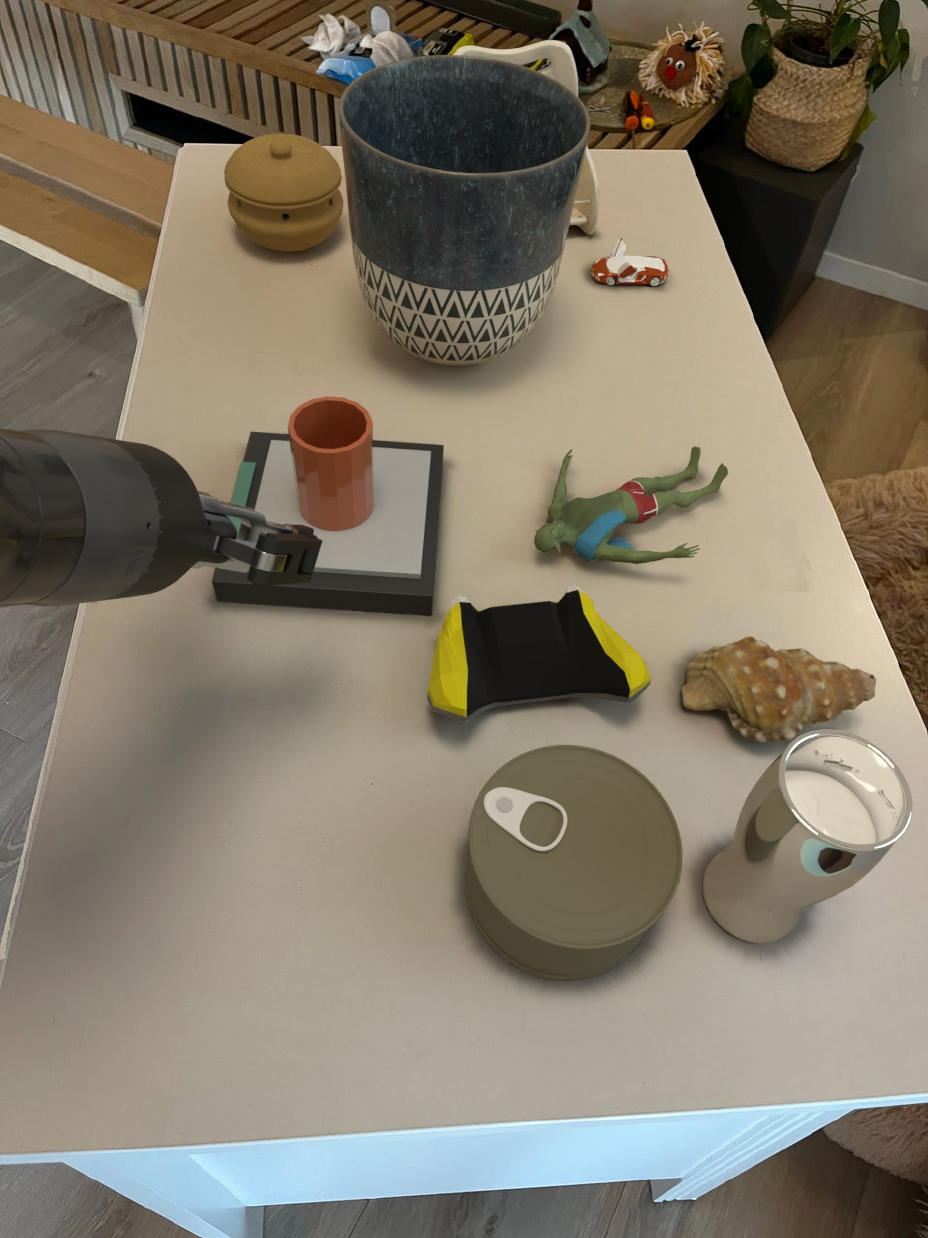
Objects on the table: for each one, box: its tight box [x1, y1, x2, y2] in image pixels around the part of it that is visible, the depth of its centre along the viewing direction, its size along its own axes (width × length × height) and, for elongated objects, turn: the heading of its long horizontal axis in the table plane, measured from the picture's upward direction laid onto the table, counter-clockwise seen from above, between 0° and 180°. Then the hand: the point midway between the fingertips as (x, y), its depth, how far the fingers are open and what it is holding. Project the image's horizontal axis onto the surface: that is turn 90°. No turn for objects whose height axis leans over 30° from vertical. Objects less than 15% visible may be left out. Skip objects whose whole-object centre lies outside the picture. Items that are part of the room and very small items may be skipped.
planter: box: [338, 54, 591, 367], centre depth 79 cm, size 20×20×21 cm
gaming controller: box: [426, 584, 652, 723], centre depth 63 cm, size 15×6×10 cm
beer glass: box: [701, 728, 914, 945], centre depth 51 cm, size 7×7×15 cm
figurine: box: [533, 445, 729, 565], centre depth 74 cm, size 16×4×18 cm
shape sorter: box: [452, 39, 600, 235], centre depth 94 cm, size 20×10×18 cm, turn 104°
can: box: [464, 744, 683, 981], centre depth 54 cm, size 12×12×7 cm
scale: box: [211, 431, 445, 616], centre depth 72 cm, size 16×16×3 cm
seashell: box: [680, 635, 877, 743], centre depth 63 cm, size 9×8×10 cm
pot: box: [223, 133, 344, 252], centre depth 93 cm, size 12×12×10 cm
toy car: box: [590, 237, 669, 287], centre depth 95 cm, size 5×8×3 cm, turn 92°
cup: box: [287, 395, 374, 531], centre depth 67 cm, size 6×6×8 cm
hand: (243, 521), depth 57 cm, fingers open, 8 cm apart
